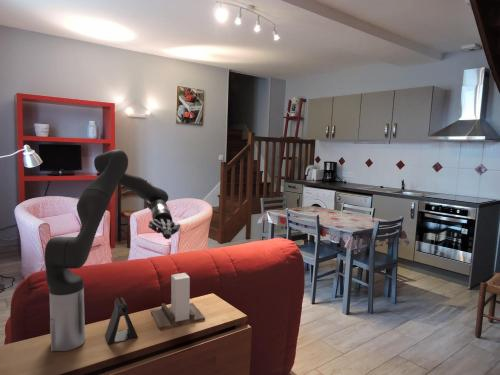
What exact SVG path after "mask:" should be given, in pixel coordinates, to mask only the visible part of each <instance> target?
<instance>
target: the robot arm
mask: <svg viewBox="0 0 500 375" xmlns="http://www.w3.org/2000/svg"><path fill="white" fill-rule="evenodd" d="M93 166H94V169H95V170H96V172H97V173H98V174H99V175H98V176H97V177H96V178H95V179H93V181H92V182H90V183H89V184H88V185H87V186H86V187H85V188H84V190H83V191H82V193H81V195H80V197H79V198H78V200H77V203H76V212H77V215H78V218H79V220H80V225H81V227H80V231H79V233H78V234H77V236H53V237H51V238H50V239H49V240H48V241H47V242H46V244H45V248H44V266H45V276H46V283H47V286H48V292H49V293H48V294H49V296H48V297H49V316H50V317H49V332H50V349H51V350H50V351H51V352H55V351H56V352H67V351H72V350H75V349H77V348H79V347H81V346H82V345H83V344H84V343H85V341H86V330H85V329H86V326H85V325H86V324H85V321H86V320H85V294H84V293H85V286H84V284H85V283H84V279H83V277H82V276H81V275H78V274H76V273H74V272H73V271H71V270H72V269H75V270H76V269H80V268H82V267H83V266H84V265H85V264H86V262H87V260H88V258H89V255H90V253H91V250H92V247H93V243H94V241H95V236H96V235H97V232H98V229H99V227H100V225H101V221H102V220H103V217H104V215H105V214H106V211H107V210H108V207H109V205H110V202H111V199H112V197H113V195H114V194H115V191H116V190H117V186H118V185H119V186H122V187H124V188H126V189H128V190H130V191H131V192H132V193H134V194H135V195H137V196H138V197H139V198H140V199H142V200H144V201H145V202H144V204H145V206H146V208H147V209H149V210H150V213H151V218H152V220H150V221H149V223H148V228H149V229H150V230H152V231H153V232H156V233H157V234H161V235H162V237H163V238H164V239H165V240H170V239H171V238H172V235H173V236H174V235H175V234H176V233H177V232H179V230H180V229H181V224H179V223H178V224H175V222H174V221H173V217H172V214H171V211H170V209H169V208H168V205H167V203H168V201H169V195H168V193H167V191H165V190H164V189H161V188H159V187H157V186H153V185H152V184H151V183H149V182H148V181H147V180H146V179H145V178H143V177H140V176H137V175H134V174H132V173H128V172H127V169H128V168H129V158H128V155H127V154H126V152H125V151H124V150H122V149H111V150H109V151H107V152H102V153H100V154H98V155H96V156H95V158H94V160H93ZM70 269H71V270H70Z"/></svg>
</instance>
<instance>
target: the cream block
mask: <svg viewBox="0 0 500 375" xmlns="http://www.w3.org/2000/svg"><path fill="white" fill-rule="evenodd" d="M170 276H171V278H170V279H171V281H170V282H171V283H170V284H171V285H170V287H171V288H170V289H171V292H170V295H171V296H170V298H171V299H170V307H171V313H172V315H173V316H174V318H175V322H177V321H182V320H187V319H189V308H190V303H191V302H190V297H191V295H190V294H191V293H190V292H191V291H190V289H191V287H190V286H191V282H190V281H191V278H190V276H189V275H188V274H187V272H182V273H181V272H180V273H175V274H171V275H170Z"/></svg>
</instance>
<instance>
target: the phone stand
mask: <svg viewBox="0 0 500 375" xmlns="http://www.w3.org/2000/svg"><path fill="white" fill-rule="evenodd" d="M119 299H120V300H121V302H120V300H119ZM128 308H129V307H128V304H127V303H126V301H125V299H124V298H123V297H121V296H120V298H118V297H116V298H115V300H114V307H113V311H112V313H111V317H110V320H109V323H108V325H107V327H106V331H105V333H104V336H105V339H106V343H107V345H108V346H109V345H115V344H118V343H122V342H126V341H130V340H134V339H138V334H137V331H136V328H135V327H134V325H133V322H132V320H131V317H130V315H129V312H128V310H129V309H128ZM122 316H123V317H124V320H125V324H126V327H127V329H125V330H120V331H118V328H119V325H120V320H121V317H122Z"/></svg>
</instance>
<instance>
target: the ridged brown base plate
mask: <svg viewBox="0 0 500 375" xmlns="http://www.w3.org/2000/svg"><path fill="white" fill-rule="evenodd" d="M150 315H151V316H152V319H153V320H154V322H155V324H156V326H157V327H158V330H160V331H161V330H165V329H166V330H167V329H171V328H175V327H179V326H185V325H189V324H194V323H198V322H202V321H205V320H206V317H205V316H204V315H203V313H202V312H201V311H200V309H198V308H197V306H196V305H195V304H194V302H190V308H189V319H187V320H182V321H177V322H175V318H174V316H173V315H172V313H171V306H169V307H168V306H167V304H166V303H164V302H163V303H161V309H160V308H159V309H154V310H151V311H150Z"/></svg>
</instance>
